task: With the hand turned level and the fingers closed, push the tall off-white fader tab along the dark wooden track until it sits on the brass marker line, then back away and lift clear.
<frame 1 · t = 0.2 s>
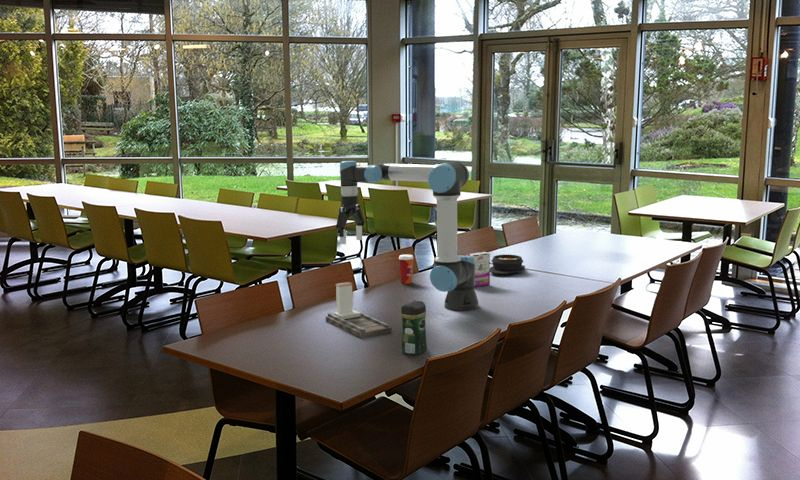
hand: (351, 242, 356), 28 cm above the table, tool pointing down, fingers open, 13 cm apart
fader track: (357, 326, 319), on the table
paper cup: (406, 283, 396), on the table
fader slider: (346, 300, 325), point 9 cm above the table, slide at -9.0 cm
casserole: (507, 272, 418), on the table
coffee jar: (413, 352, 286), on the table
candy bar box: (477, 286, 388), on the table
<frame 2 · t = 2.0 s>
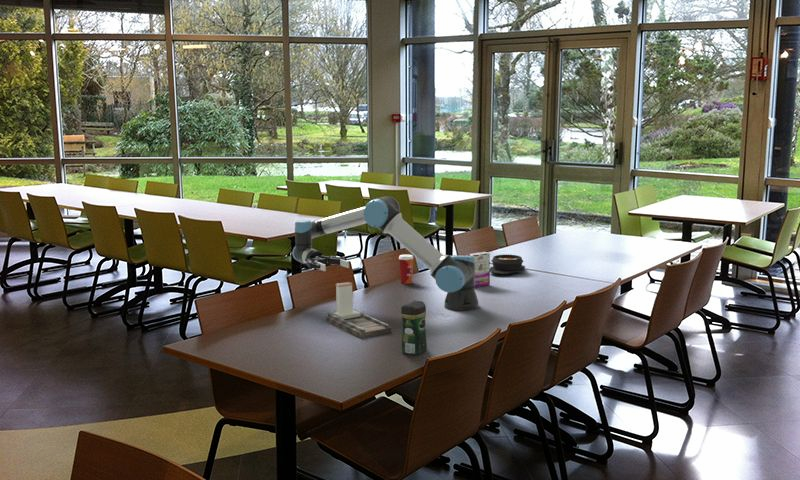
hand: (336, 266, 330), 22 cm above the table, tool horizontal, fingers open, 10 cm apart
nothing on the table moved.
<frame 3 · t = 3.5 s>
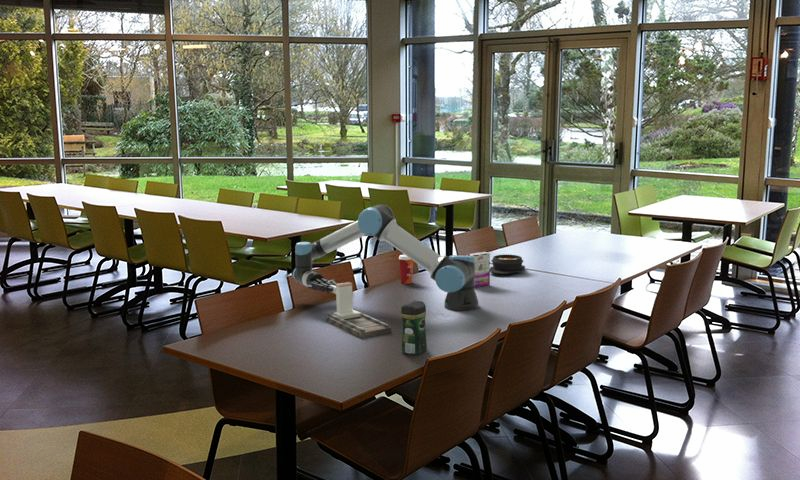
hand: (338, 291, 331), 12 cm above the table, tool horizontal, fingers closed
nothing on the table moved.
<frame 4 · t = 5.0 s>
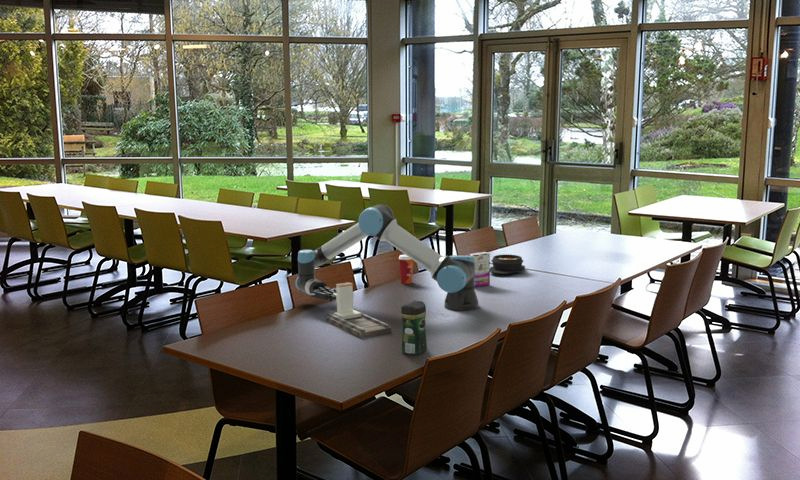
hand: (341, 299, 328), 9 cm above the table, tool horizontal, fingers closed
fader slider: (347, 300, 325), point 9 cm above the table, slide at -8.7 cm, touching gripper
everything else where it was.
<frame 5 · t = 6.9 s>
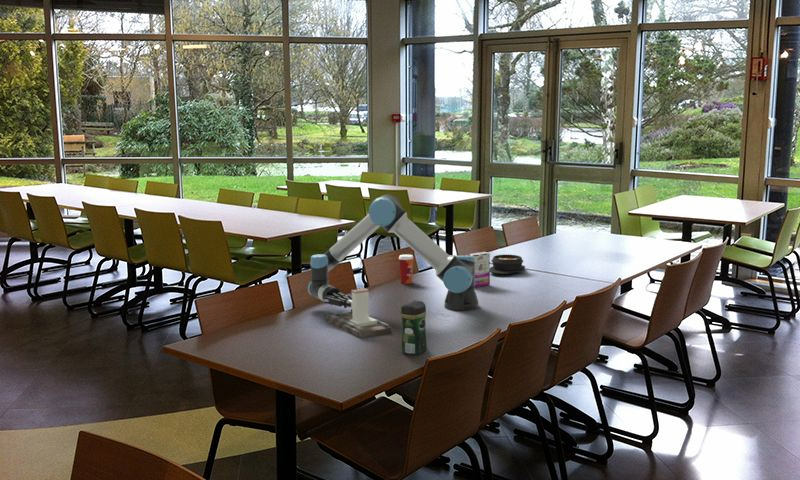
hand: (356, 306, 317), 9 cm above the table, tool horizontal, fingers closed
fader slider: (362, 307, 314), point 9 cm above the table, slide at 4.7 cm
everything else where it was.
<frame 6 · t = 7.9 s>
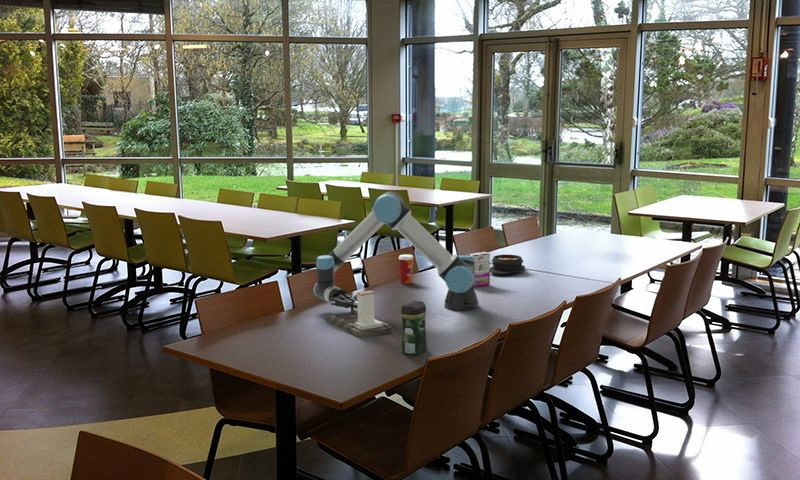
hand: (363, 307, 313), 9 cm above the table, tool horizontal, fingers closed
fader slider: (368, 309, 310), point 9 cm above the table, slide at 9.0 cm, touching gripper
everything else where it was.
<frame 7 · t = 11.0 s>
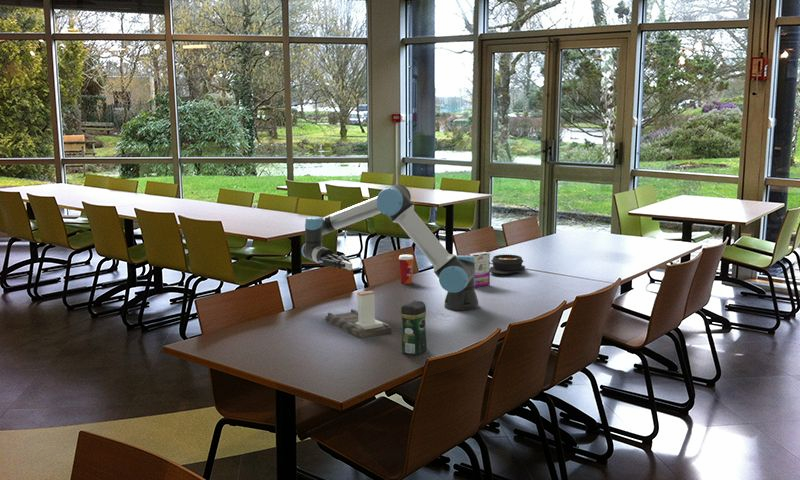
hand: (350, 266, 321), 24 cm above the table, tool horizontal, fingers closed
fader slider: (368, 309, 310), point 9 cm above the table, slide at 9.3 cm
everything else where it was.
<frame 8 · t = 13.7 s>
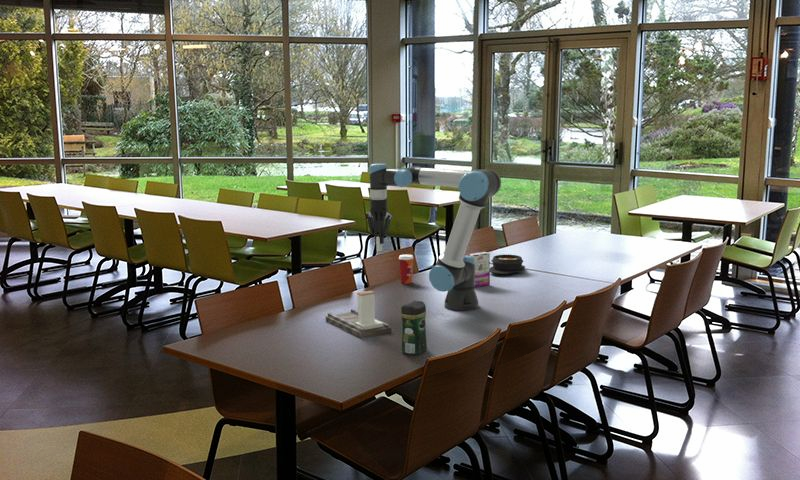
hand: (379, 250, 351), 24 cm above the table, tool pointing down, fingers closed
nothing on the table moved.
at the end: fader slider slide at 9.3 cm; the gripper is holding nothing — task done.
